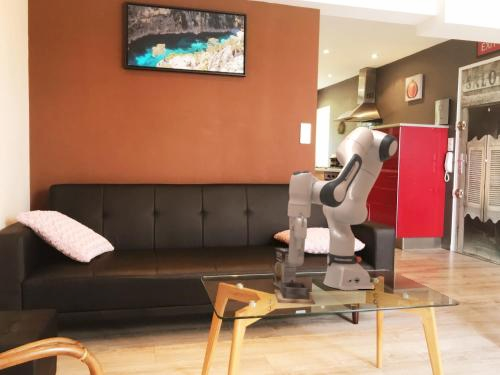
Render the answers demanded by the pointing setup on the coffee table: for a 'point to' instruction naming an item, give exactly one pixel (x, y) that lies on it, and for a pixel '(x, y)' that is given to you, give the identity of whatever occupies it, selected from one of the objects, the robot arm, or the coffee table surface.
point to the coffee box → (283, 267)
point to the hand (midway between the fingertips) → (296, 247)
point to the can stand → (294, 293)
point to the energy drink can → (295, 250)
